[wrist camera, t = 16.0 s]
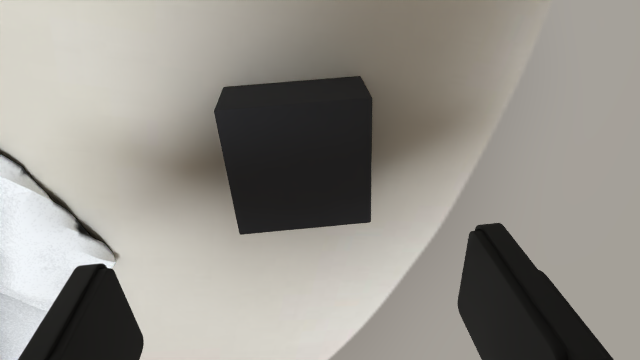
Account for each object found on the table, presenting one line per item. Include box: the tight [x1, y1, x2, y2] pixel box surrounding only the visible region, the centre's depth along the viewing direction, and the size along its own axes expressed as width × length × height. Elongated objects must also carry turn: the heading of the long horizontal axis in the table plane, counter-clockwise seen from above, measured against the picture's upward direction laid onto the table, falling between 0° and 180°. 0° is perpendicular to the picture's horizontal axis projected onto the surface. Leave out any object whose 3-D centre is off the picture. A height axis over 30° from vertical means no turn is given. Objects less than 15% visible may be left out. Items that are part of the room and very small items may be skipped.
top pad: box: [214, 76, 372, 234], centre depth 16 cm, size 6×6×2 cm
